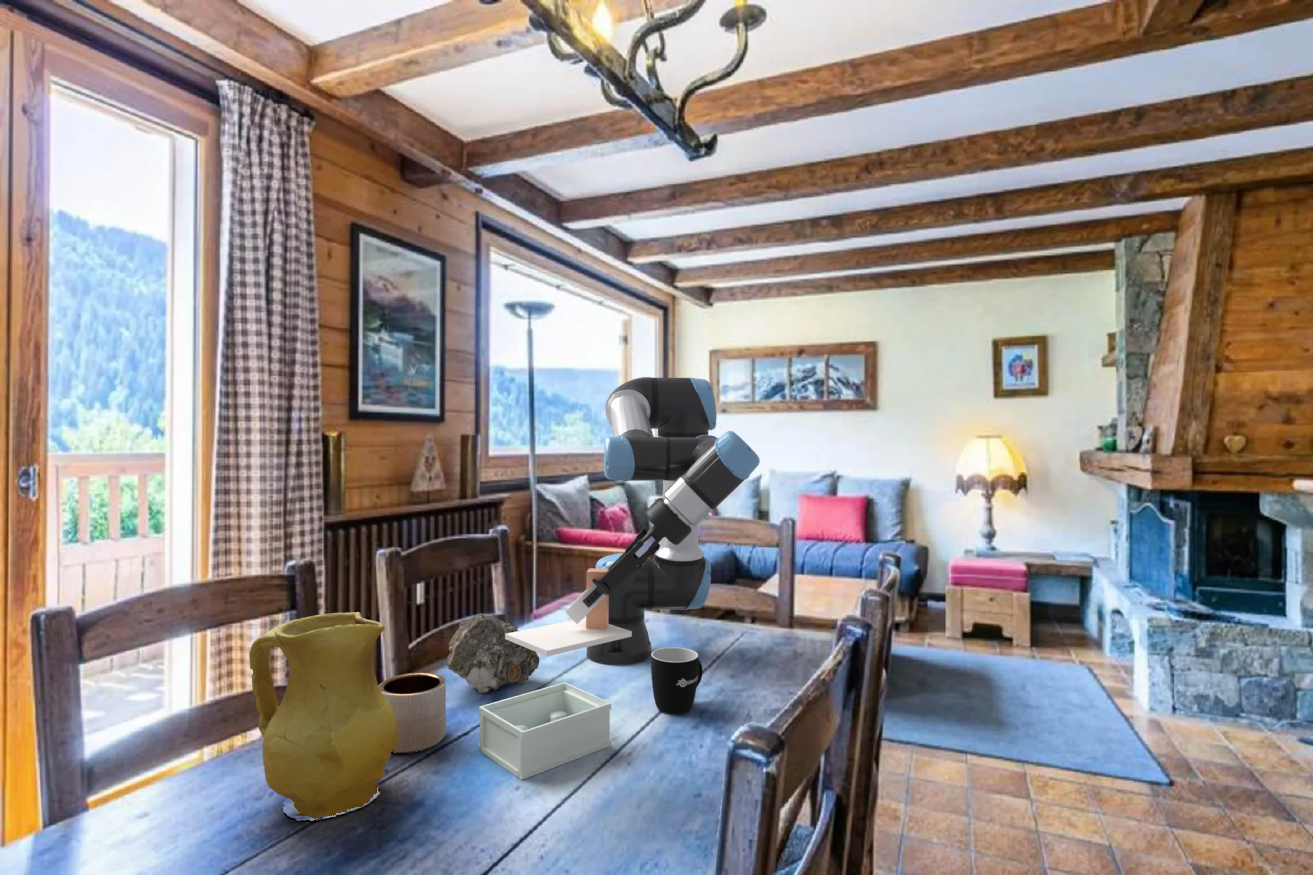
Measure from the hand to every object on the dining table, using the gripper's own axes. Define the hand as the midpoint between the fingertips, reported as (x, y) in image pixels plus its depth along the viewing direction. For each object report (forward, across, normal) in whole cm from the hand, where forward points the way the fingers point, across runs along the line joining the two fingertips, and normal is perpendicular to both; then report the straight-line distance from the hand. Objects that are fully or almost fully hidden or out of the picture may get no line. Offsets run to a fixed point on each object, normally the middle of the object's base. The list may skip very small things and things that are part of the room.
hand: (573, 614), depth 111 cm
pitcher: (+39, -15, +7) cm, 42 cm away
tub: (+19, +2, -12) cm, 23 cm away
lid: (+2, -4, -2) cm, 5 cm away
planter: (+35, +3, +4) cm, 36 cm away
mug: (+4, +21, -28) cm, 35 cm away
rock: (+31, +31, 0) cm, 44 cm away
